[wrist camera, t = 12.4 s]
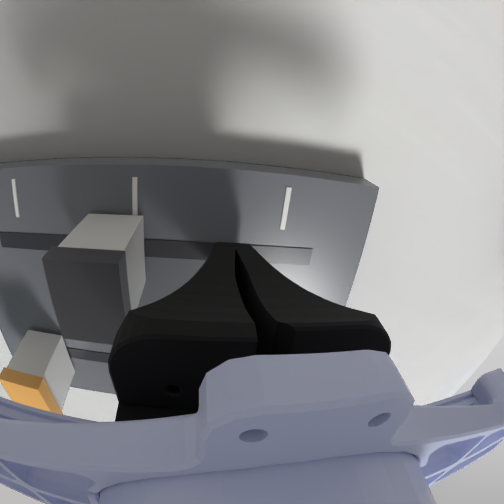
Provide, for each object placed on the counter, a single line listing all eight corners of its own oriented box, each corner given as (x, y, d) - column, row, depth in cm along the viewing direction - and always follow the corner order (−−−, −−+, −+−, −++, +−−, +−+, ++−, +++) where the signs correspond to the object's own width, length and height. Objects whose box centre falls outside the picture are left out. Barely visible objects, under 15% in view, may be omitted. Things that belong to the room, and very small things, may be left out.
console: (304, 381, 20) (309, 399, 19) (29, 360, 17) (22, 376, 15) (364, 178, 14) (379, 187, 12) (-24, 165, 11) (-41, 173, 9)
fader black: (148, 282, 13) (130, 346, 9) (94, 278, 13) (63, 338, 9) (145, 213, 12) (118, 263, 8) (86, 211, 11) (41, 258, 8)
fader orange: (76, 372, 15) (59, 425, 12) (42, 366, 15) (22, 415, 11) (63, 334, 14) (38, 390, 10) (26, 328, 13) (-2, 378, 10)
